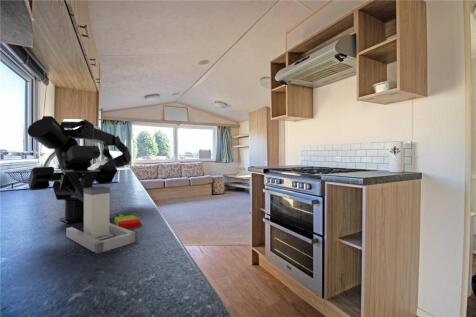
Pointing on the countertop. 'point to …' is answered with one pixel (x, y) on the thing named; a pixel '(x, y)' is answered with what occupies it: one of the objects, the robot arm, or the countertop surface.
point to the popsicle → (127, 221)
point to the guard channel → (101, 246)
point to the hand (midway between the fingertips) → (86, 201)
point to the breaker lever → (96, 211)
